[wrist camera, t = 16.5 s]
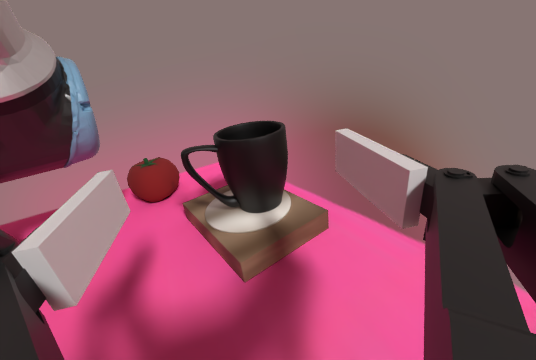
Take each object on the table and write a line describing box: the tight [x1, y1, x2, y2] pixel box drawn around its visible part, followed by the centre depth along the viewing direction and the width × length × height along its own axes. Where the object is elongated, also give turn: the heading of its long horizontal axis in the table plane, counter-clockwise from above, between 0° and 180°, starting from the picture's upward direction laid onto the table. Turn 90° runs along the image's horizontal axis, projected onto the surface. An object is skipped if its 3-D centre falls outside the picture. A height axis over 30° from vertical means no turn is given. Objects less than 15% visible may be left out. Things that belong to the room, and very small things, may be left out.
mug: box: [181, 121, 288, 213], centre depth 30 cm, size 8×12×10 cm
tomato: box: [127, 157, 179, 202], centre depth 43 cm, size 8×8×7 cm
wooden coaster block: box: [183, 185, 328, 282], centre depth 33 cm, size 16×12×3 cm
